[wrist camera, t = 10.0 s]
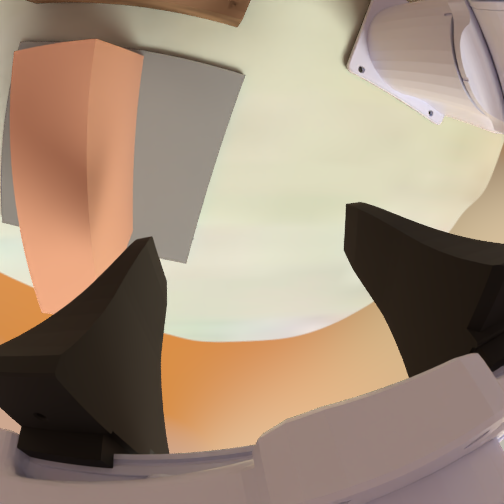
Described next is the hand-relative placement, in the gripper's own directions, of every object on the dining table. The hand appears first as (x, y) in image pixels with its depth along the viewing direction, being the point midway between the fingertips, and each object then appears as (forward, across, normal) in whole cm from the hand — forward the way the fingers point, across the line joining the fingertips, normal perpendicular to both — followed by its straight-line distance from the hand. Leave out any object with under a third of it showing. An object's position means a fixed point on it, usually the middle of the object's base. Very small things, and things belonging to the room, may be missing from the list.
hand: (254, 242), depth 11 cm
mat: (+10, +9, -3) cm, 14 cm away
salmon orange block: (+10, +8, -3) cm, 13 cm away
